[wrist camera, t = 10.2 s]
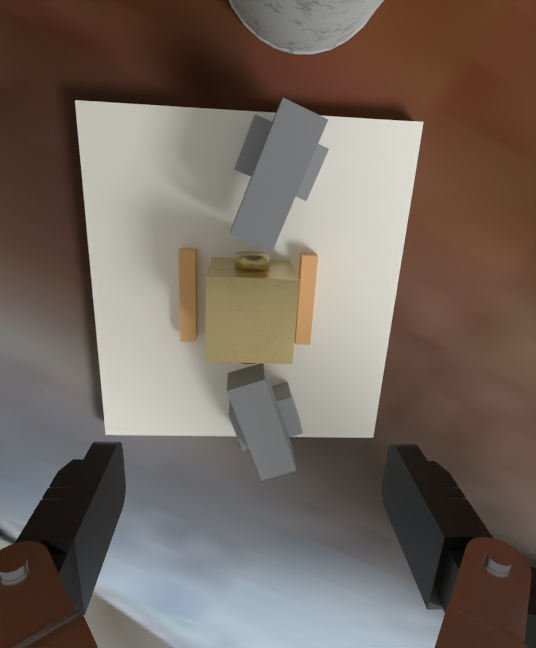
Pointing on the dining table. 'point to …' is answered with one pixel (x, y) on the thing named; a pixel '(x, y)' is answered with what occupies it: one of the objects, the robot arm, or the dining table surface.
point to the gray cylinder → (304, 22)
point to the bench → (224, 241)
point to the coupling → (251, 309)
